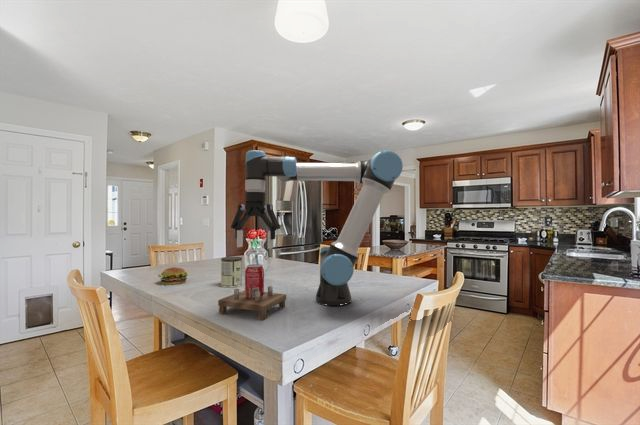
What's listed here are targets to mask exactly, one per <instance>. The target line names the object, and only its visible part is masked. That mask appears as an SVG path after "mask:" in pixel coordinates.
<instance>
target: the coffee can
mask: <svg viewBox="0 0 640 425" xmlns="http://www.w3.org/2000/svg"><path fill="white" fill-rule="evenodd" d="M242 259H243V257H240V256H226V257H225V256H224V257H221V258H220V260H221V262H220V263H221V265H220V266H221V269H220V270H221V271H220V272H221V274H220V276H221V277H220V278H221V280H220V281H221V282H220V286H221V287H222V288H238V287H241V286H242V275H243V273H242V272H243V271H242V269H243V267H242V264H243V262H242Z"/></svg>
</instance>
